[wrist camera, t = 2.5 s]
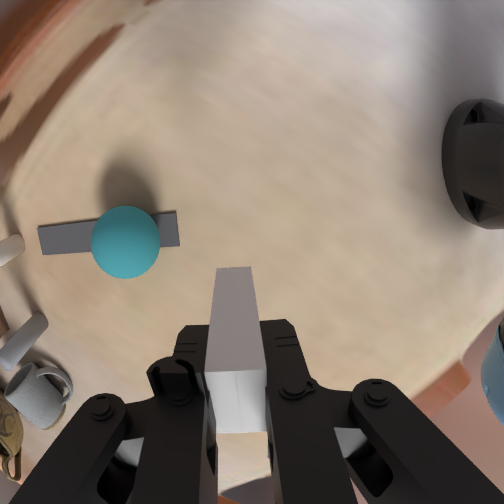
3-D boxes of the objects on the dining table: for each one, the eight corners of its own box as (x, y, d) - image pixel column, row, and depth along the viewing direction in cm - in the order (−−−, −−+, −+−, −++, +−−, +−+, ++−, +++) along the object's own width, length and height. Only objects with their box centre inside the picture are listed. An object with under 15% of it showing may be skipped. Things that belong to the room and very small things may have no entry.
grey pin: (44, 312, 27) (5, 355, 19) (50, 329, 28) (15, 373, 20) (31, 311, 27) (-8, 351, 19) (38, 327, 28) (2, 369, 20)
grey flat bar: (176, 212, 25) (175, 213, 25) (179, 245, 26) (179, 246, 26) (38, 227, 24) (37, 228, 24) (43, 254, 25) (42, 255, 25)
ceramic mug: (52, 404, 33) (35, 436, 26) (18, 367, 31) (-4, 398, 23) (87, 393, 32) (70, 431, 25) (49, 350, 30) (24, 386, 22)
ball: (163, 197, 24) (142, 210, 19) (171, 261, 26) (155, 290, 21) (103, 203, 24) (71, 218, 18) (113, 264, 26) (87, 291, 20)
